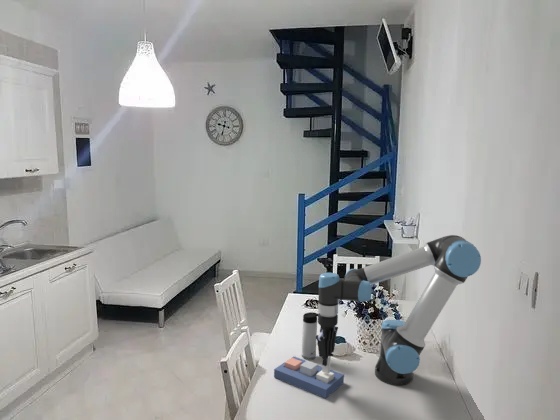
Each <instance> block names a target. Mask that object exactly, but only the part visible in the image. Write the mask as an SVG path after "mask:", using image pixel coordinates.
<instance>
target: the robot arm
mask: <svg viewBox="0 0 560 420" xmlns="http://www.w3.org/2000/svg"><path fill="white" fill-rule="evenodd" d="M481 264H482V257H481V253H480V251H479V250H478V249H477V247H476V246H475V245H474V244H473V243H472V242H469V241H468V240H467V239H466V238H464V237H463V236H459V235H456V234H455V235H454V234H449V235H445V236H442V237H439V238H435V239H434V240H430V241H427V242H425V244H424V246H422V247H418V248H417V249H412V250H410V251H408V252H407V251H406V252H404V253H402V254H398V255H396V256H393V257H390V258H387V259H384V260H382V261H379V262H375V263H373V264H370V265H367V266H363V267H361V268H358V269H357V268H350V269H349V270H347V272H345V275H344V279H340V276H339V274H337V273H335V272H334V273H333V272H323V273H321V274H320V275H319V277H318V303H317V305H318V306H317V308H318V309H317V312H318V313H317V314H318V316H317V324H318V325H319V326H320V328H319V335H318V334H317V336H316V343H317V350H318V357H320V358H322V362H321V366H322V372H324V373H327V374H329V373H330V370H331V359H332V358H331V357H333V356H334V352H335V346H336V339H337V334H338V329H339V327H338V326H337V325H338V320H339V315H338V313H339V301H340V300H341V301H352V302H353V301H354V302H361V303H362V302H369V301H371V300H372V285H376V284H378V283H382V282H385V281H388V280H390V279H393V278H396V277H398V276H402V275H406V274H408V273H412V272H415V271H418V270H420V269H423V268H426V267H429V266H432V267H433V269H434V273H433V274H432V276H431V279H429V281H428V283H427V285H426V287H425V288H424V290H423V291H422V293H421V294H420V297H419V298H418V300H417V302H416V303H415V304H414V307H412V310H411V312H410V313H409V315H408V317H407V318H406V320H405V321H404V320H400V319H386V320H383V322H382V323H381V328H380V330H381V336H380V350H379V351H380V353H379V357H378V359H377V362H376V365H375V367H374V375H375V376H376V378H377V379H378V380H380V381H381V382H384V383H386V384H389V385H394V386H395V385H396V386H403V385H409V384H410V383H412V381H413V378H414V371H416V370H417V369H418V367H419V366H420V362H421V357H420V355H421V354H422V352H423V350H424V348H425V347H426V343H425V339H426V337H427V335H428V333H429V332H430V330H431V329H432V327H433V325H434V323H435V322H436V320H437V319H438V317H439V316H440V314H441V312H442V310H444V307H445V306H446V304H447V303H448V301H449V300H450V298H451V296H452V294H453V293H454V291H455V289H456V288H457V286H458V285H461V284H465V282H466V281H467V279H468V277H470V276H472V275H474V274H476V273H477V272H478V271H479V269H480V267H481Z"/></svg>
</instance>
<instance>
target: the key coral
mask: <svg viewBox="0 0 560 420" xmlns="http://www.w3.org/2000/svg"><path fill="white" fill-rule="evenodd" d="M284 362H285V367H286V368H288V369H291V370H294V371H296V370H298V369H299V368H300V365H301V364H302V361H299V360H297V359H294V358H292V357H291V358H289V359H288V360H286V361H284Z"/></svg>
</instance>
